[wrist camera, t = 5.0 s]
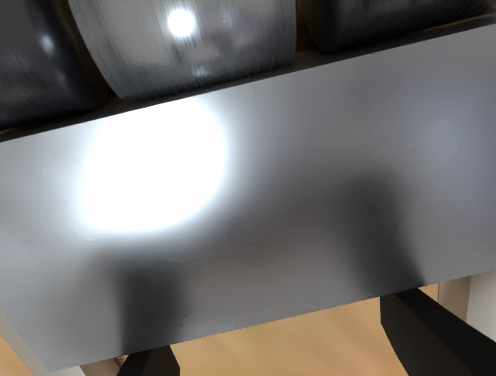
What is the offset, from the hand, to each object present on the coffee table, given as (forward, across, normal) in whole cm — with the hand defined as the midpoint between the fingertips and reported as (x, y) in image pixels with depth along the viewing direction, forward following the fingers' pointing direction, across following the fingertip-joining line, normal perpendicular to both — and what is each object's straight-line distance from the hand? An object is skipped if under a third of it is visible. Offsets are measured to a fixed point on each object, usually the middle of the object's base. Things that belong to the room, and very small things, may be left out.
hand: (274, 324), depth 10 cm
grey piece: (+1, 0, -6) cm, 7 cm away
